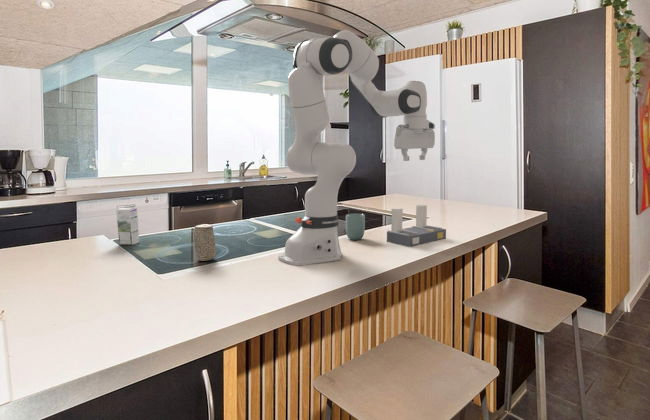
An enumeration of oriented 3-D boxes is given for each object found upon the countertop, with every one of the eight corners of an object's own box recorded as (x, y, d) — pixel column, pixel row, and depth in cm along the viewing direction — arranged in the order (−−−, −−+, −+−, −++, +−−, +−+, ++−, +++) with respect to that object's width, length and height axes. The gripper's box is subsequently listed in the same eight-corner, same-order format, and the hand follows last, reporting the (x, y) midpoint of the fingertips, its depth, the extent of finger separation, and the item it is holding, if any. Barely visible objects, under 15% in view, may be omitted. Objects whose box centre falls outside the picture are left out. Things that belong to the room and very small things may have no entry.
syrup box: (140, 242, 174) (137, 206, 172) (132, 245, 168) (129, 208, 166) (126, 241, 175) (124, 206, 173) (118, 245, 169) (115, 208, 167)
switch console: (410, 247, 161) (411, 235, 160) (386, 241, 170) (386, 230, 169) (446, 239, 174) (446, 228, 173) (422, 234, 184) (422, 224, 183)
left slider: (397, 232, 167) (397, 209, 166) (391, 230, 170) (391, 208, 168) (402, 231, 169) (402, 208, 168) (396, 230, 171) (396, 207, 170)
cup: (365, 241, 172) (365, 216, 170) (346, 241, 172) (346, 216, 171) (364, 237, 180) (364, 213, 178) (345, 237, 180) (345, 213, 178)
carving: (202, 257, 149) (200, 223, 147) (220, 258, 146) (219, 224, 144) (190, 261, 143) (188, 226, 141) (209, 263, 140) (207, 227, 138)
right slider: (421, 227, 177) (422, 205, 175) (416, 226, 179) (416, 205, 178) (426, 226, 178) (426, 205, 177) (420, 225, 181) (421, 204, 179)
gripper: (402, 124, 158) (402, 161, 160) (437, 124, 170) (437, 159, 172) (390, 124, 163) (390, 161, 165) (425, 125, 175) (424, 159, 177)
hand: (414, 160), depth 169 cm, fingers open, 8 cm apart
